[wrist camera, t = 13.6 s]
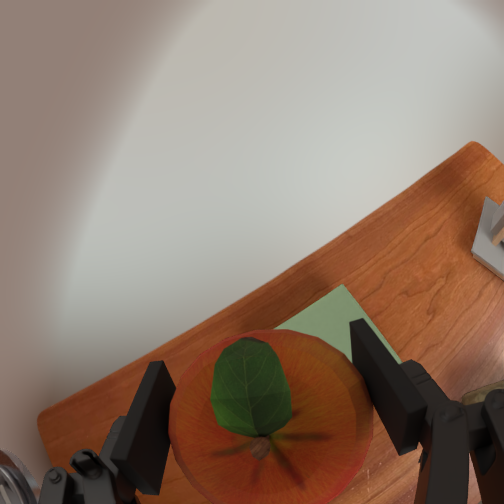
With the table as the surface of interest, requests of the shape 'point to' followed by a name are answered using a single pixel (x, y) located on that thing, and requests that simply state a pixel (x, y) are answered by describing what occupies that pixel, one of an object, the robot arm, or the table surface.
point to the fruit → (271, 420)
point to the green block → (333, 321)
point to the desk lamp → (490, 238)
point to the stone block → (481, 393)
